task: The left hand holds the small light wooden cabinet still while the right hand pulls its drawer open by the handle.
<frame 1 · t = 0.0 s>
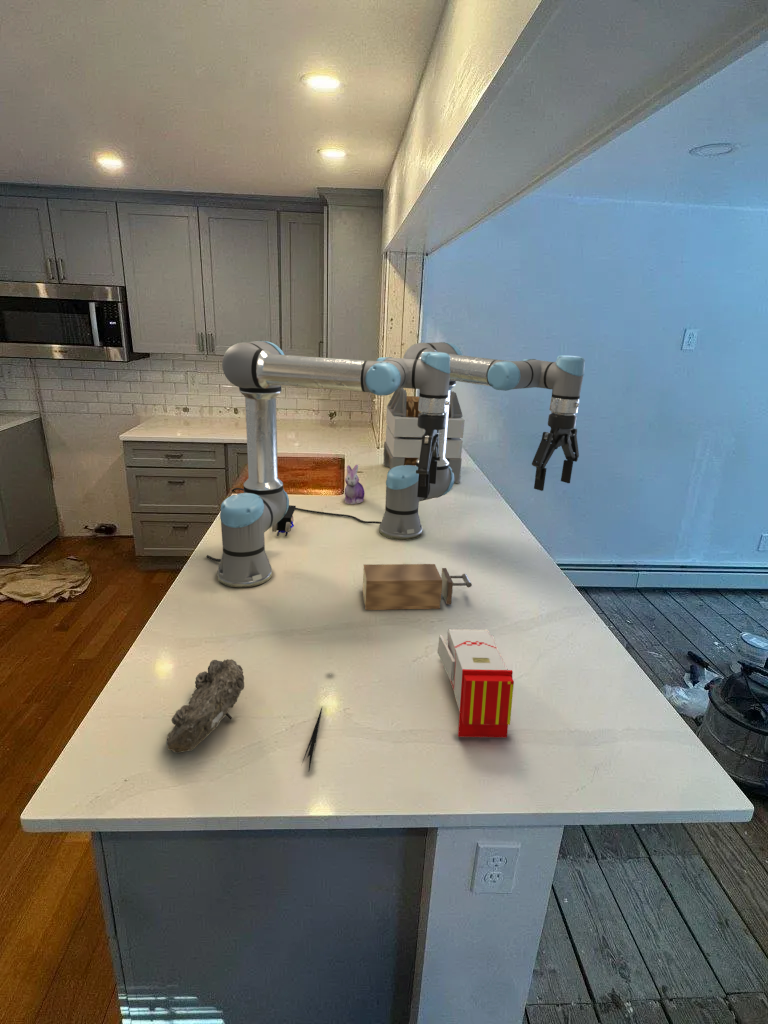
left hand: (426, 490, 157), 28 cm above the counter, tool pointing down, fingers open, 13 cm apart
right hand: (552, 485, 166), 28 cm above the counter, tool pointing down, fingers open, 13 cm apart
cabinet: (400, 600, 154), on the counter
figurine character: (284, 531, 198), on the counter
toy: (469, 691, 119), on the counter
drawer: (425, 586, 154), point 4 cm above the counter, slide at 1.9 cm
fossil: (212, 717, 108), on the counter
feather: (319, 719, 109), on the counter
figurine: (354, 501, 231), on the counter
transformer: (419, 473, 275), on the counter
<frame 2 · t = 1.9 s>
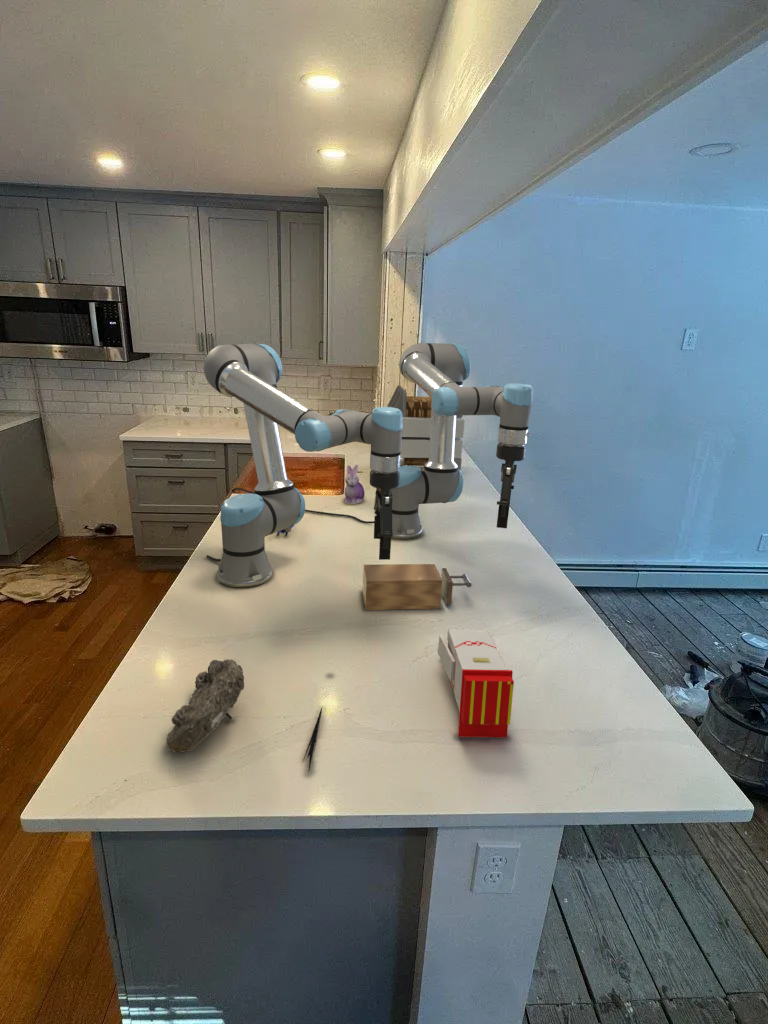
left hand: (381, 548, 149), 15 cm above the counter, tool pointing down, fingers open, 13 cm apart
right hand: (502, 519, 157), 21 cm above the counter, tool pointing down, fingers open, 13 cm apart
nothing on the counter moved.
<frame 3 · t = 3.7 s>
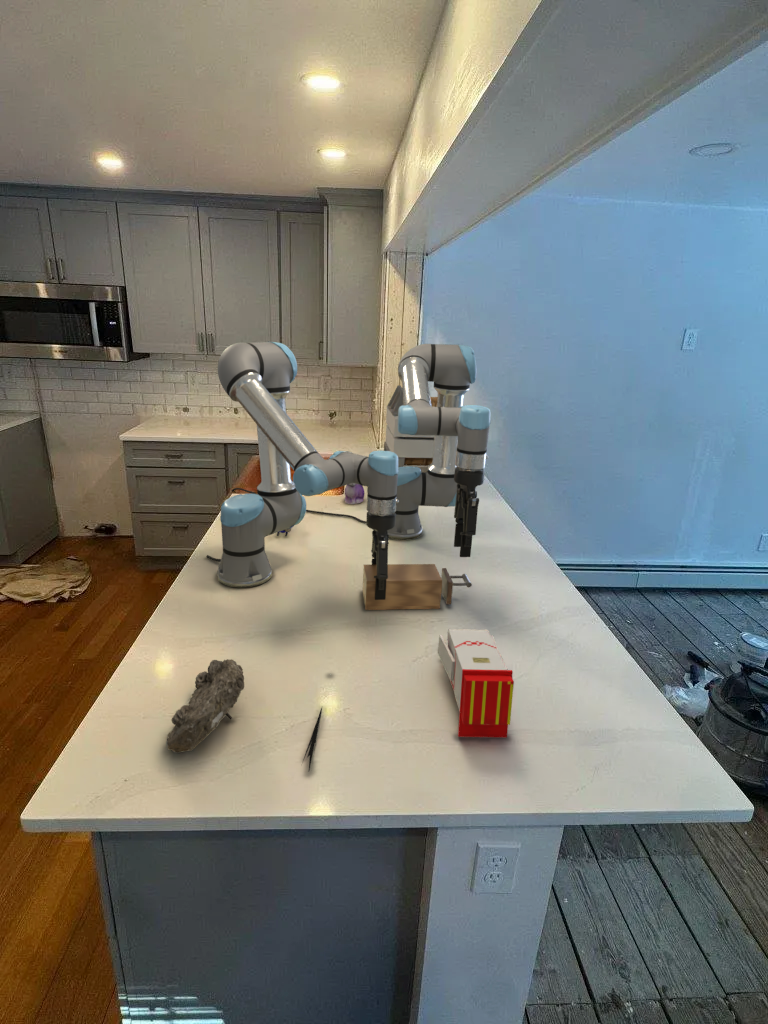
left hand: (378, 589, 153), 3 cm above the counter, tool pointing down, fingers closed on cabinet, 10 cm apart
right hand: (461, 551, 151), 15 cm above the counter, tool pointing down, fingers open, 6 cm apart
cabinet: (400, 600, 154), on the counter, touching left hand
everything else where it was.
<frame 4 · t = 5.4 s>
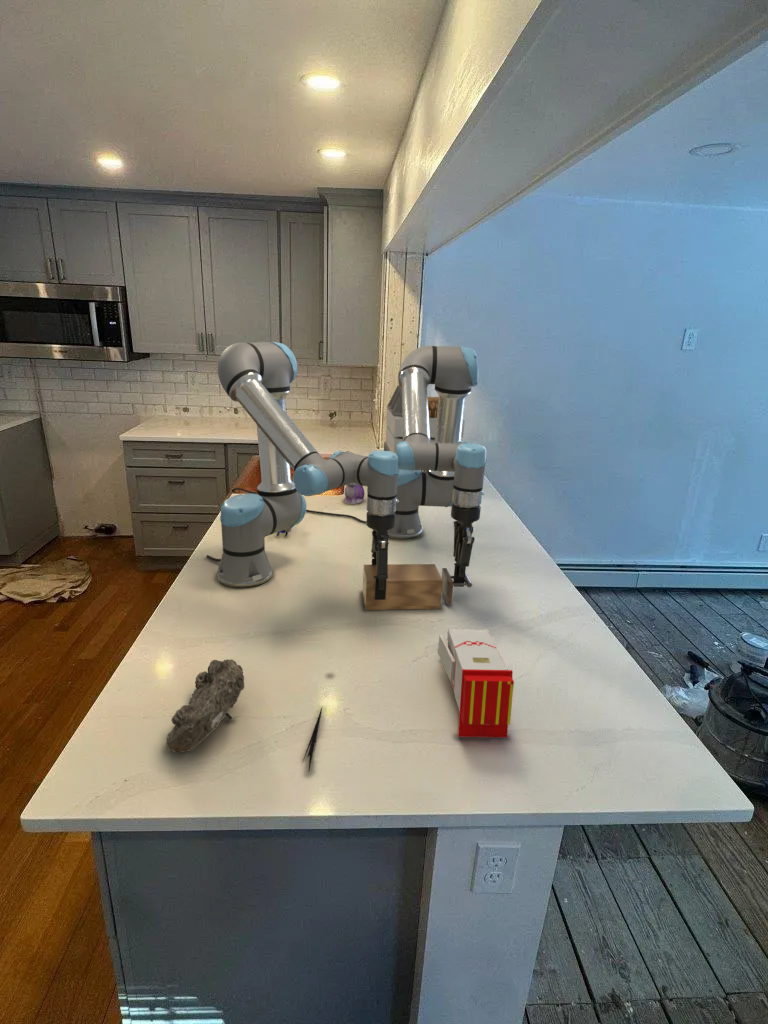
left hand: (378, 589, 153), 3 cm above the counter, tool pointing down, fingers closed on cabinet, 10 cm apart
right hand: (458, 585, 155), 4 cm above the counter, tool pointing down, fingers closed
cabinet: (400, 600, 154), on the counter, touching left hand
drawer: (425, 586, 154), point 4 cm above the counter, slide at 2.0 cm, touching right hand
everything else where it was.
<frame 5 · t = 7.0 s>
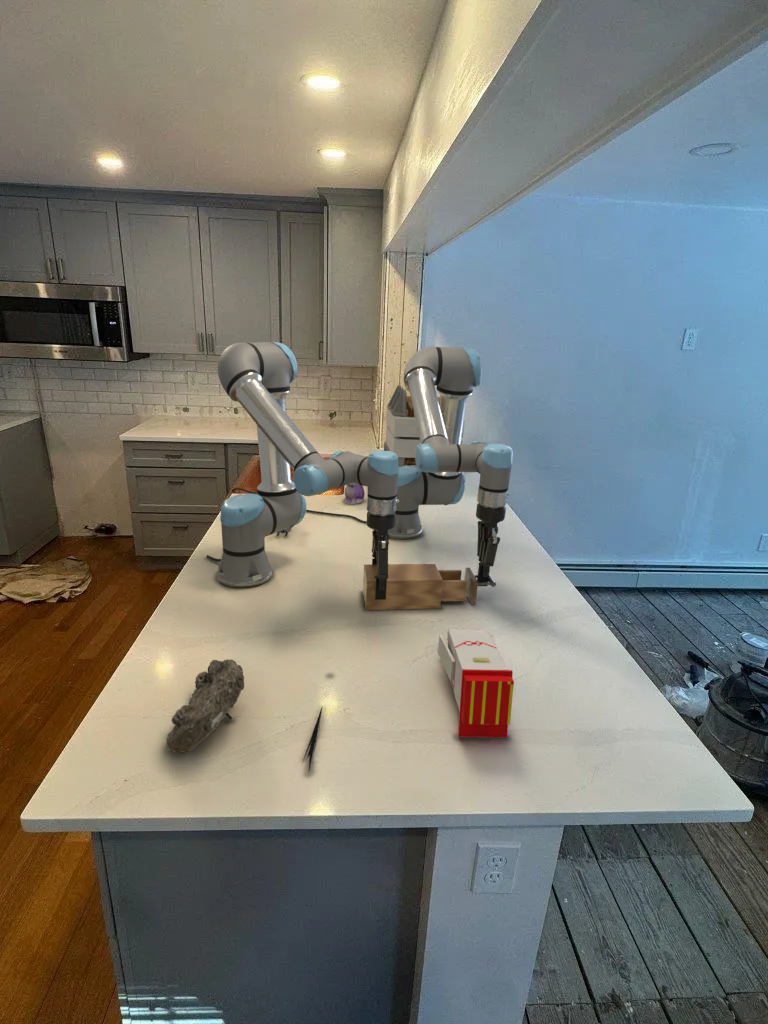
left hand: (378, 589, 153), 3 cm above the counter, tool pointing down, fingers closed on cabinet, 10 cm apart
right hand: (482, 585, 156), 4 cm above the counter, tool pointing down, fingers closed
cabinet: (400, 600, 155), on the counter, touching left hand
drawer: (449, 585, 155), point 4 cm above the counter, slide at 8.5 cm, touching right hand
everything else where it was.
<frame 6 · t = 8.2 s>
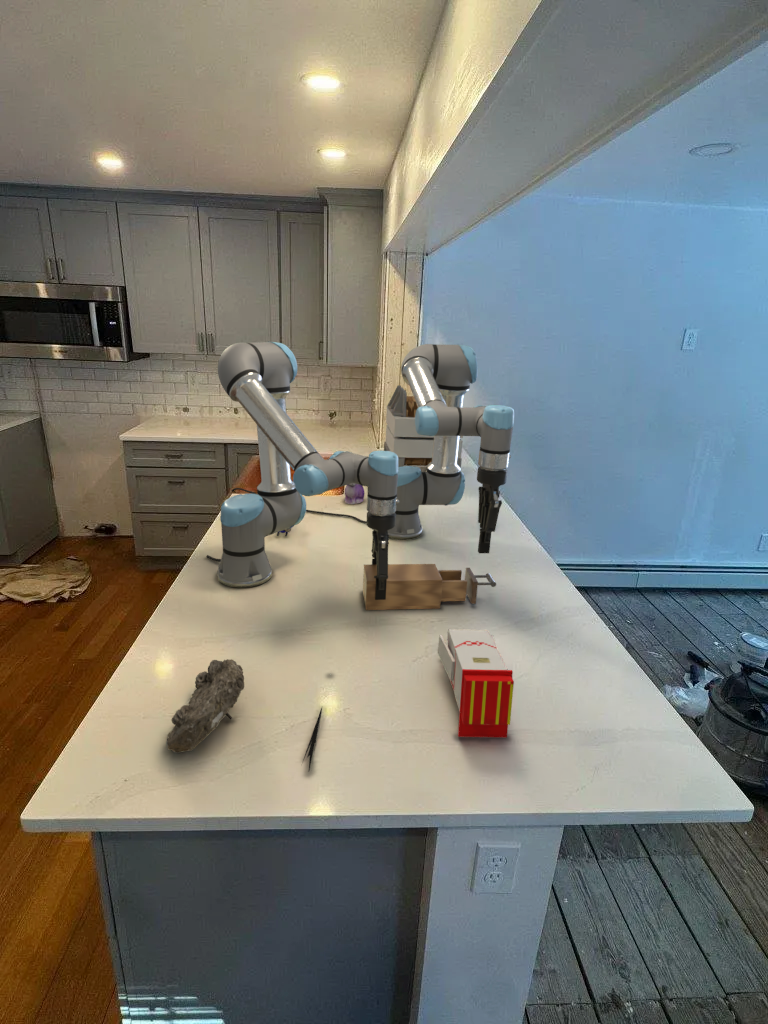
left hand: (378, 589, 153), 3 cm above the counter, tool pointing down, fingers closed on cabinet, 10 cm apart
right hand: (483, 552, 152), 14 cm above the counter, tool pointing down, fingers closed
cabinet: (400, 600, 155), on the counter, touching left hand
drawer: (449, 585, 155), point 4 cm above the counter, slide at 8.6 cm
everything else where it was.
when the left hand's fingers open (3 cm above the counter, at t = 8.7 s): cabinet stays where it is, on the counter.
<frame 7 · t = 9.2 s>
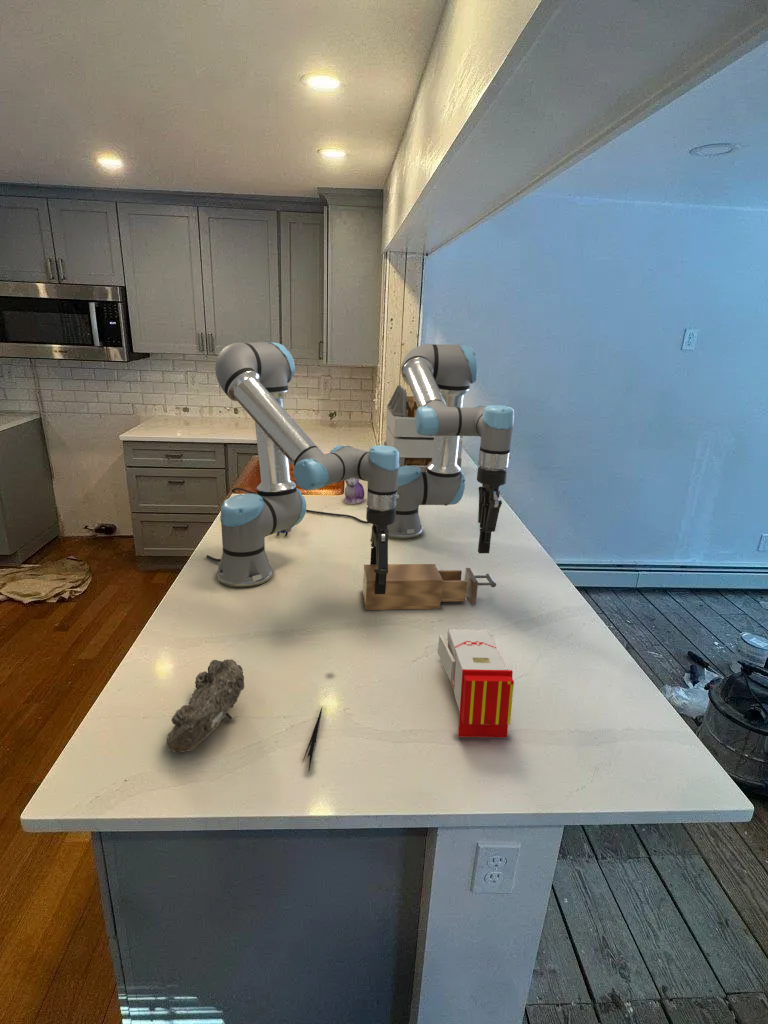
left hand: (377, 581, 152), 6 cm above the counter, tool pointing down, fingers open, 13 cm apart
right hand: (483, 552, 152), 14 cm above the counter, tool pointing down, fingers closed
cabinet: (400, 600, 155), on the counter
everything else where it was.
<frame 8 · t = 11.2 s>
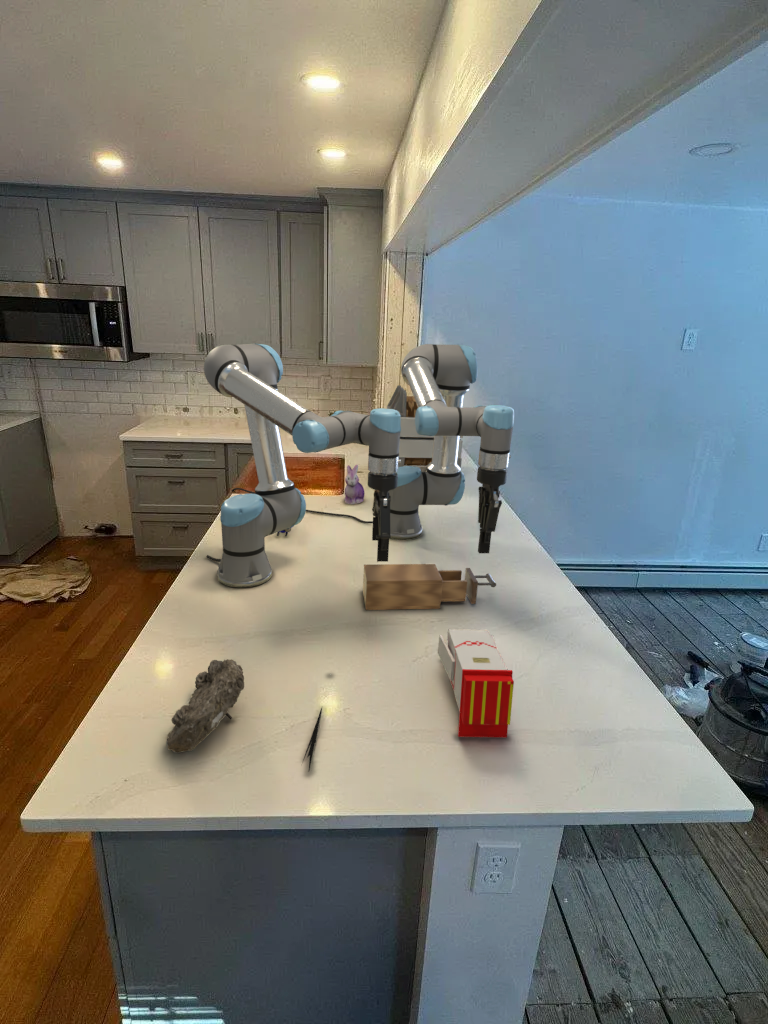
left hand: (379, 550, 149), 15 cm above the counter, tool pointing down, fingers open, 13 cm apart
right hand: (483, 552, 152), 14 cm above the counter, tool pointing down, fingers closed
nothing on the counter moved.
at the end: drawer slide at 8.6 cm; cabinet tilted 0°; cabinet never tilted more than 1° during the clip; cabinet moved 0.1 cm from its start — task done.
